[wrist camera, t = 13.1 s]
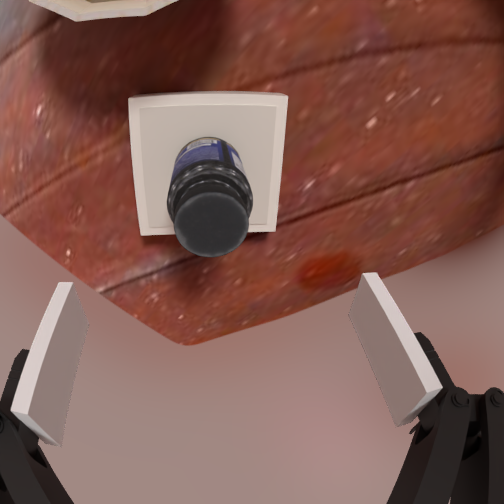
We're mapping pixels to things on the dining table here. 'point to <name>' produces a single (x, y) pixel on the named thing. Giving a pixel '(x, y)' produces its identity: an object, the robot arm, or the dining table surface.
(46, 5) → the bowl
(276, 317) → the dining table surface
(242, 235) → the pill bottle
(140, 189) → the square plate
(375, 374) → the robot arm
